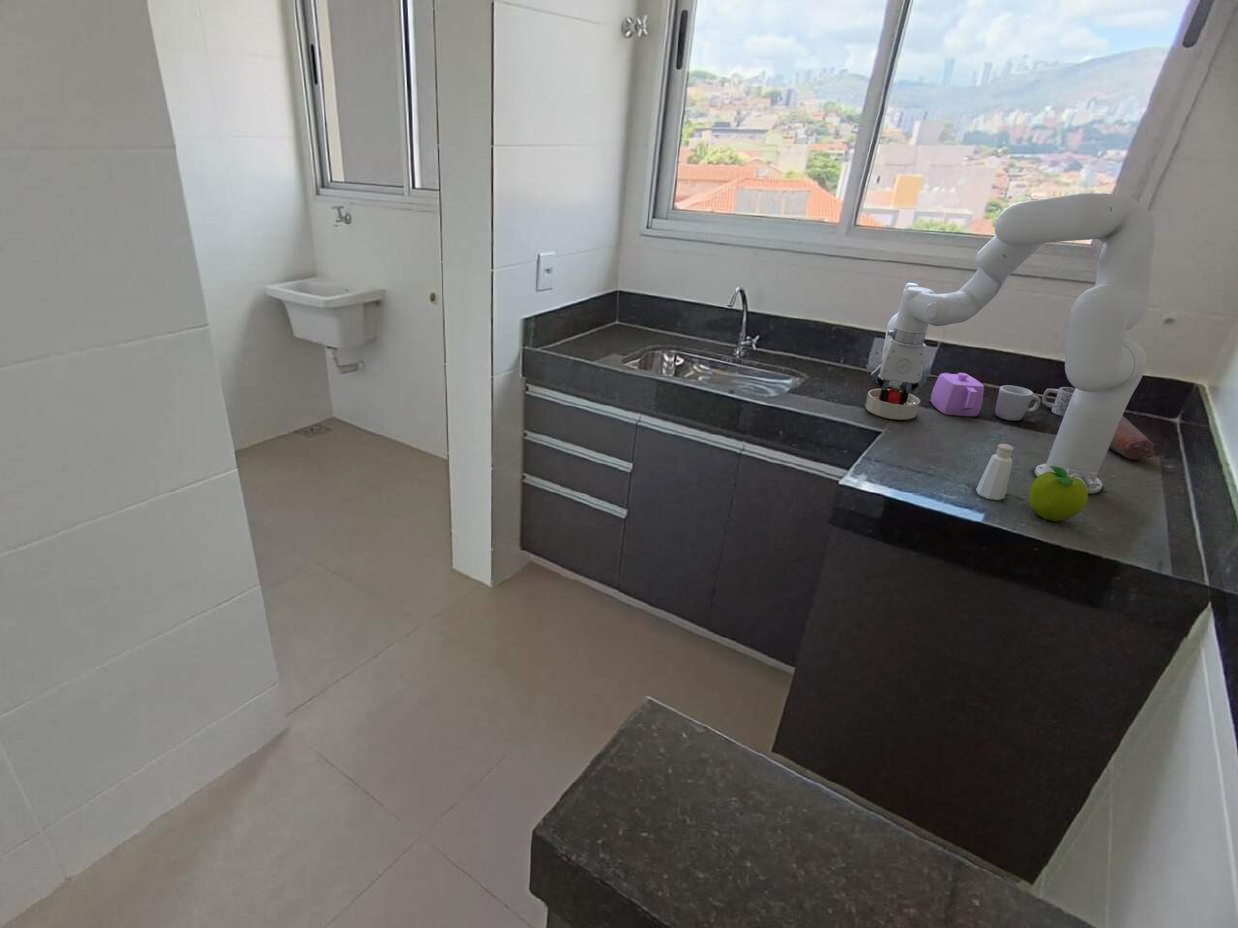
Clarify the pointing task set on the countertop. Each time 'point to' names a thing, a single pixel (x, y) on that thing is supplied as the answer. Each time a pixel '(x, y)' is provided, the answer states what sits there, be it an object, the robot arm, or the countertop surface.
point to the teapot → (957, 394)
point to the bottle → (890, 327)
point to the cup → (1014, 402)
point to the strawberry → (894, 395)
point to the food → (1131, 442)
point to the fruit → (1057, 495)
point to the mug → (1059, 399)
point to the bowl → (891, 406)
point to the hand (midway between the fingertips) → (891, 403)
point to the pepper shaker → (996, 474)
